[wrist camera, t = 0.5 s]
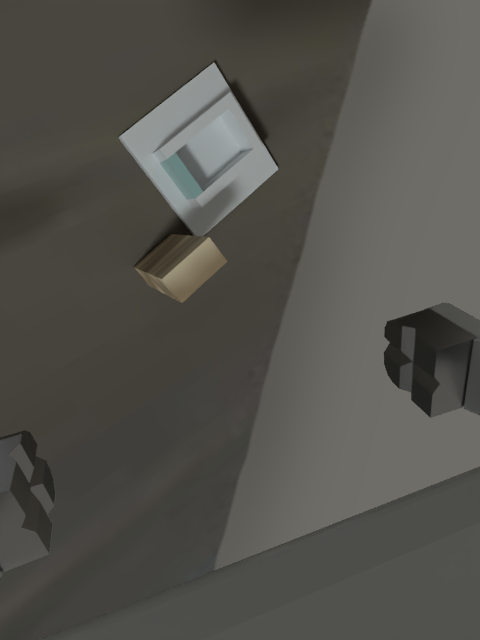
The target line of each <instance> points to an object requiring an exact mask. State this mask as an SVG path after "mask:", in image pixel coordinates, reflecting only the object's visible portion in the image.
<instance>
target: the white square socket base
mask: <svg viewBox="0 0 480 640" xmlns="http://www.w3.org/2000/svg"><path fill="white" fill-rule="evenodd" d="M118 138H119V139H120V141H121V142H122V143H123V145H124V146H125V147H126V148H127V150H128V151H129V152H130V154H131V155H132V156H133V158H134V159H135V160H136V162H137V163H138V164H139V165H140V167H141V168H142V169H143V171H144V172H145V173H146V175H147V176H148V177H149V179H150V180H151V181H152V182H153V184H154V185H155V186H156V188H157V189H158V190H159V192H160V193H161V194H162V196H163V197H164V198H165V199H166V201H167V202H168V203H169V205H170V206H171V207H172V209H173V210H174V211H175V212H176V214H177V215H178V216H179V218H180V219H181V220H182V222H183V223H184V224H185V226H186V227H187V228H188V229H189V231H190V232H191V233H192V235H193V236H202V237H203V236H204V235H205V234H206V233H207V232H208V231H209V230H210V229H212V228H213V227H214V226H215V225H216V224H217V223H218V222H219V221H221V220H222V219H223V218H224V217H225V216H226V215H227V214H228V213H230V212H231V211H232V210H233V209H234V208H235V207H236V206H237V205H239V204H240V203H241V202H242V201H243V200H244V199H245V198H246V197H248V196H249V195H250V194H251V193H252V192H253V191H254V190H255V189H257V188H258V187H259V186H260V185H261V184H262V183H263V182H264V181H266V180H267V179H268V178H269V177H270V176H271V175H272V174H273V173H275V172H276V171H277V170H278V167H277V166H276V164H275V162H274V161H273V159H272V157H271V156H270V154H269V152H268V151H267V149H266V147H265V146H264V144H263V142H262V141H261V139H260V137H259V136H258V134H257V132H256V131H255V129H254V127H253V126H252V124H251V122H250V121H249V119H248V117H247V116H246V114H245V113H244V111H243V109H242V108H241V106H240V104H239V103H238V101H237V99H236V98H235V96H234V94H233V93H232V91H231V89H230V88H229V86H228V84H227V83H226V81H225V79H224V78H223V76H222V74H221V73H220V71H219V69H218V68H217V66H216V64H215V63H213V64H211V65H210V66H209V67H207V68H206V69H205V70H204V71H202V72H201V73H200V74H198V75H197V76H196V77H195V78H193V79H192V80H191V81H190V82H188V83H187V84H186V85H184V86H183V87H182V88H181V89H179V90H178V91H177V92H176V93H174V94H173V95H172V96H170V97H169V98H168V99H167V100H165V101H164V102H163V103H162V104H160V105H159V106H158V107H156V108H155V109H154V110H153V111H151V112H150V113H149V114H147V115H146V116H145V117H144V118H142V119H141V120H140V121H139V122H137V123H136V124H135V125H133V126H132V127H131V128H130V129H128V130H127V131H126V132H125V133H123V134H122V135H121V136H119V137H118Z"/></svg>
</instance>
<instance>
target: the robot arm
mask: <svg viewBox="0 0 480 640" xmlns="http://www.w3.org/2000/svg"><path fill="white" fill-rule="evenodd" d="M384 336H385V338H386V339H387V340H388V341H389V342H390V344H389V345H388V347H387V349H386V350H385V352H384V365H385V368H386V371H387V374H388V376H389V377H390V379H391V380H392V382H393V383H394V384H395V385H396V386H397V387H398V388H399V389H402V390H406V391H409V392H411V400H412V401H413V402H414V403H415V404H416V405H417V406H418V407H420V408H421V409H422V410H423V411H424V412H425V413H426V414H427V415H428V416H429V417H434V416H437V415H440V414H443V413H446V412H449V411H452V410H456V409H458V408H462V407H464V409H466V410H468V411H470V412H473V413H475V414H478V415H480V320H478V319H476V318H474V317H473V316H471V315H469V314H467V313H466V312H464V311H462V310H460V309H459V308H457V307H455V306H453V305H451V304H449V303H441V304H439V305H435V306H432V307H429V308H426V309H424V310H422V311H419V312H416V313H412V314H409V315H406V316H403V317H400V318H397V319H393V320H390V321H387V324H386V326H385V335H384ZM37 445H38V444H37V443H36V441H35V439H34V437H33V436H32V434H31V433H30V432H28V431H26V430H25V431H21V432H18V433H14V434H11V435H7V436H4V437H0V579H1V577H2V576H3V574H2V572H5V571H7V570H10V569H12V568H15V567H18V566H20V565H23V564H25V563H28V562H31V561H33V560H36V559H38V558H41V557H43V556H46V555H49V553H50V544H51V534H52V525H53V524H52V522H51V520H50V519H49V517H48V515H47V514H48V513H49V512H50V510H51V509H52V508H53V506H54V504H55V487H54V479H53V476H52V473H51V470H50V468H49V466H48V464H47V462H46V460H44V459H42V458H40V457H38V456H36V451H37ZM39 640H480V467H477V468H475V469H472V470H470V471H467V472H464V473H462V474H459V475H457V476H454V477H452V478H450V479H447V480H444V481H442V482H439V483H437V484H434V485H431V486H429V487H426V488H424V489H421V490H419V491H416V492H414V493H411V494H408V495H406V496H403V497H401V498H398V499H396V500H393V501H391V502H388V503H386V504H383V505H380V506H378V507H375V508H373V509H370V510H368V511H365V512H363V513H360V514H358V515H355V516H352V517H350V518H347V519H345V520H342V521H340V522H337V523H335V524H332V525H330V526H327V527H324V528H322V529H319V530H317V531H314V532H312V533H309V534H307V535H304V536H302V537H299V538H296V539H294V540H292V541H289V542H286V543H284V544H281V545H279V546H277V547H274V548H271V549H269V550H266V551H263V552H261V553H258V554H256V555H253V556H251V557H248V558H246V559H243V560H241V561H238V562H235V563H233V564H230V565H228V566H225V567H223V568H220V569H218V570H215V571H212V572H210V573H207V574H205V575H202V576H200V577H197V578H195V579H192V580H190V581H187V582H184V583H182V584H179V585H177V586H174V587H172V588H169V589H167V590H164V591H162V592H159V593H156V594H154V595H151V596H149V597H146V598H144V599H141V600H139V601H136V602H134V603H131V604H128V605H126V606H123V607H121V608H118V609H116V610H113V611H111V612H108V613H106V614H103V615H100V616H98V617H95V618H93V619H90V620H88V621H85V622H83V623H80V624H78V625H75V626H72V627H70V628H67V629H65V630H62V631H60V632H57V633H55V634H52V635H50V636H47V637H44V638H42V639H39Z"/></svg>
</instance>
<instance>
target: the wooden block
mask: <svg viewBox="0 0 480 640" xmlns="http://www.w3.org/2000/svg"><path fill="white" fill-rule="evenodd" d="M226 262H227V260H226V259H225V258H224V256H223V255H222V254H221V252H220V251H219V250H218V248H217V247H216V246H215V244H214V243H213V242H212V240H211V239H210V238H209V237H202V236H189V235H177V234H171V235H170V236H169V237H167V238H166V239H165V240H164V241H163V242H162V243H160V244H159V245H158V246H157V247H156V248H155V249H154V250H152V251H151V252H150V253H149V254H148V255H147V256H146V257H144V258H143V259H142V260H141V261H140V262H139V263H137V264H136V265H135V266H134V269H135V270H136V271H137V272H138V273H139V274H140V275H141V277H142V278H143V279H144V280H145V281H146V282H147V283H148V284H149V286H151V287H152V288H154V289H156V290H158V291H160V292H162V293H164V294H166V295H168V296H170V297H172V298H174V299H175V300H177V301H179V302H181V303H183V302H184V301H185V300H186V299H187V298H188V297H189V296H190V295H191V294H192V293H193V292H194V291H196V290H197V289H198V288H199V287H200V286H201V285H202V284H203V283H204V282H205V281H206V280H208V279H209V278H210V277H211V276H212V275H213V274H214V273H215V272H216V271H217V270H218V269H220V268H221V267H222V266H223V265H224V264H225V263H226Z"/></svg>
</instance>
